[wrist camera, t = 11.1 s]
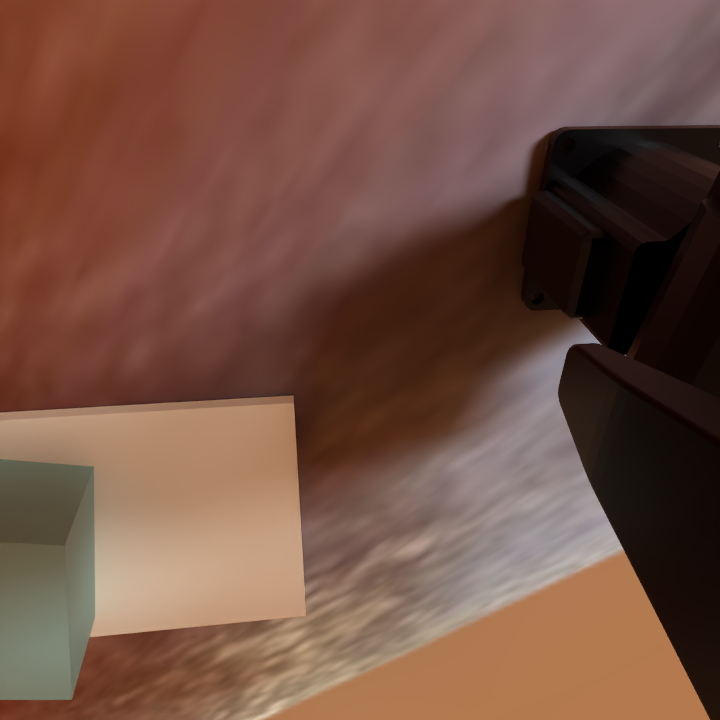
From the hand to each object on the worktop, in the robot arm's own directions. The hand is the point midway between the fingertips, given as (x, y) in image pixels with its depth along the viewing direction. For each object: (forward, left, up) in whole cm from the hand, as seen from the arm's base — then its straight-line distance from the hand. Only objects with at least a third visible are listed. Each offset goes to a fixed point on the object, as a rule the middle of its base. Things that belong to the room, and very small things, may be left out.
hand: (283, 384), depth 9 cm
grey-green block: (+12, +16, -12) cm, 23 cm away
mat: (+10, +16, -12) cm, 22 cm away
